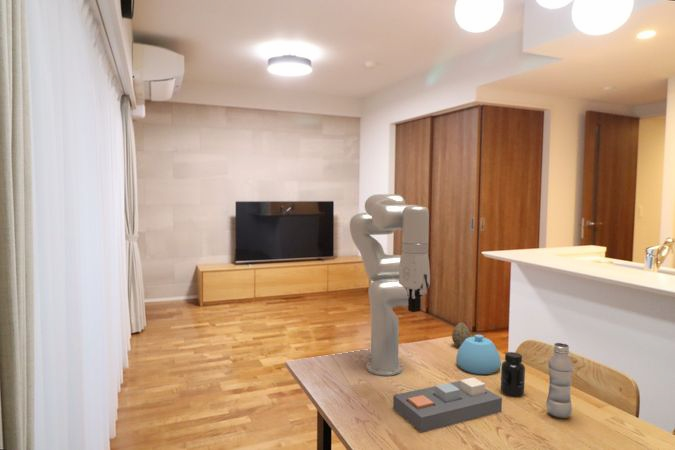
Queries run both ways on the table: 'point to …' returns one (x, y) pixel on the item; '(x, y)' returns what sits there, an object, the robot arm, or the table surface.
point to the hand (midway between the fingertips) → (414, 310)
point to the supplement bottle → (513, 375)
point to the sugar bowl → (478, 355)
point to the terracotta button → (420, 402)
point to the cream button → (472, 387)
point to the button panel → (445, 408)
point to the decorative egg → (460, 334)
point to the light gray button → (447, 392)
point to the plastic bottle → (560, 382)
